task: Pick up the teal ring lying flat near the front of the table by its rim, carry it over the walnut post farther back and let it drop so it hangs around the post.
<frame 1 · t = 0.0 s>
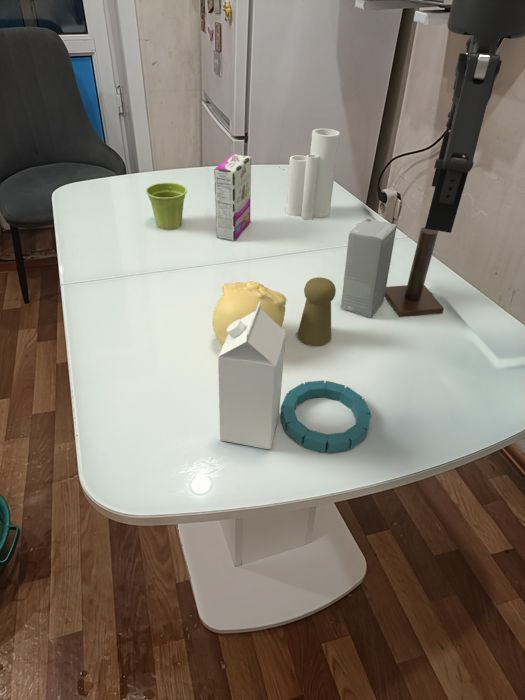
hand: (440, 206, 60), 30 cm above the table, tool pointing down, fingers open, 13 cm apart
cosmetic box: (361, 304, 100), on the table
ring: (324, 418, 74), on the table
candy bar box: (233, 231, 123), on the table
brown pawn: (314, 336, 91), on the table
vase: (308, 214, 133), on the table
post: (411, 302, 100), on the table
sculpture: (247, 342, 88), on the table
plant pot: (169, 225, 124), on the table
milk carton: (250, 428, 73), on the table
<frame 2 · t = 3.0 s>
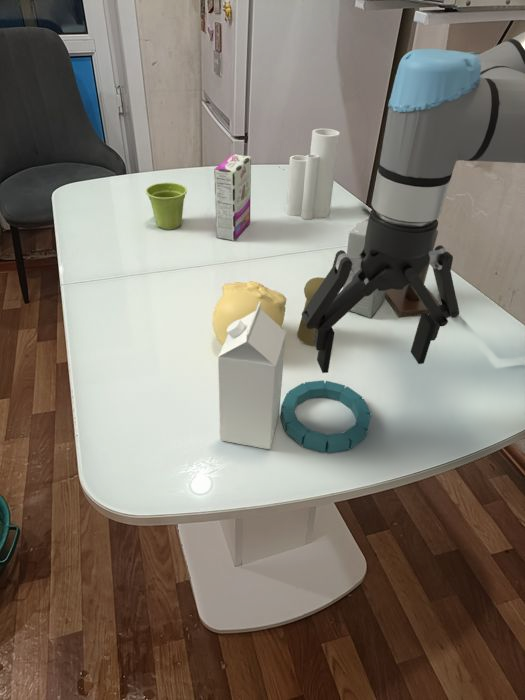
hand: (370, 362, 69), 10 cm above the table, tool pointing down, fingers open, 13 cm apart
nothing on the table moved.
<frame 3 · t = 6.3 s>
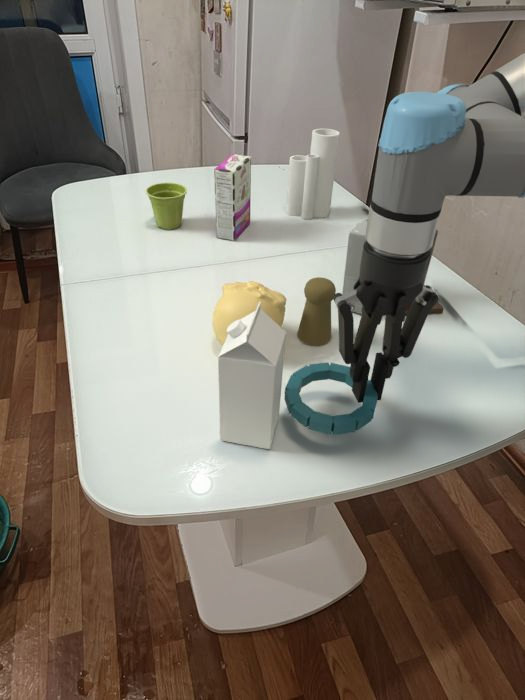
hand: (366, 394, 73), 4 cm above the table, tool pointing down, fingers closed on ring, 2 cm apart
ring: (330, 401, 72), point 4 cm above the table, touching gripper
everything else where it was.
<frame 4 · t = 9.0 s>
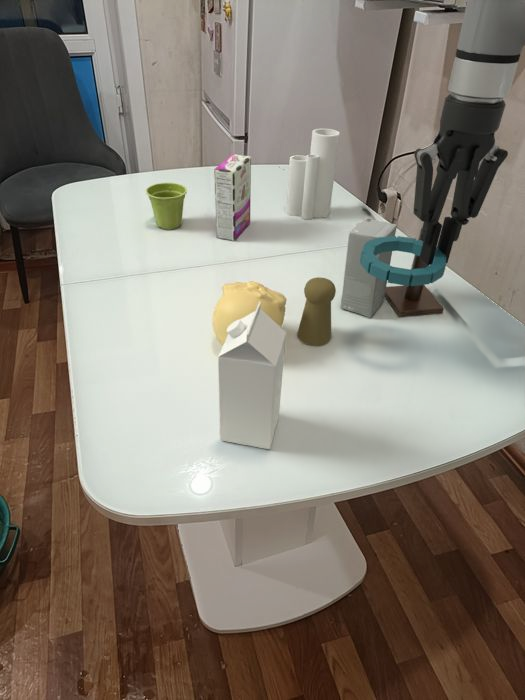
hand: (433, 259, 80), 16 cm above the table, tool pointing down, fingers closed on ring, 2 cm apart
ring: (401, 264, 79), point 16 cm above the table, touching gripper
everything else where it was.
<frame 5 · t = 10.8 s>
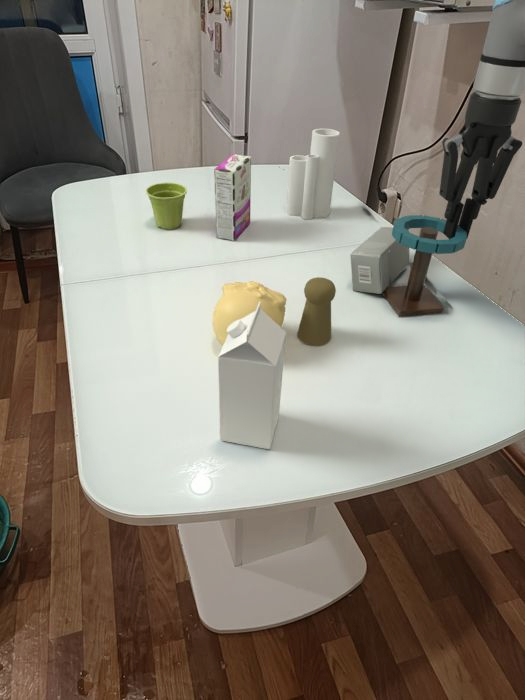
hand: (455, 235, 93), 14 cm above the table, tool pointing down, fingers closed on ring, 2 cm apart
cosmetic box: (363, 275, 99), point 4 cm above the table, touching post
ring: (427, 238, 92), point 14 cm above the table, touching gripper
everything else where it was.
when the fingers open (10 cm above the table, at t = 12.1 s): ring drops 8 cm, resting on cosmetic box, post.
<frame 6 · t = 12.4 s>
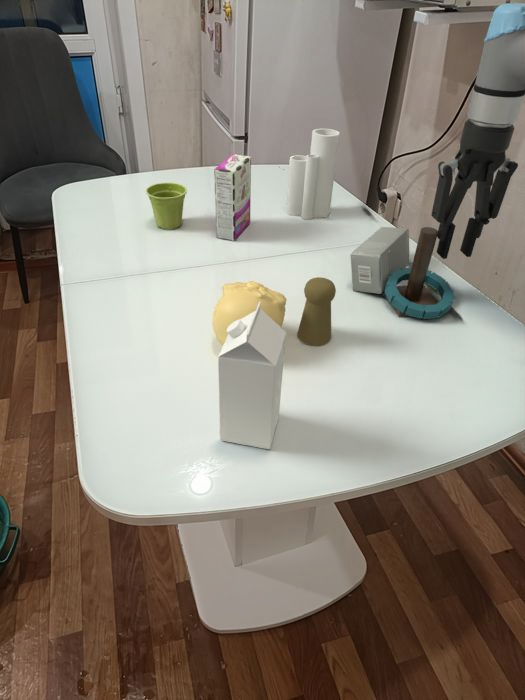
hand: (453, 254, 95), 10 cm above the table, tool pointing down, fingers open, 4 cm apart
cosmetic box: (363, 275, 99), point 4 cm above the table, touching post, ring
ring: (417, 295, 99), point 2 cm above the table, tilted 11°, touching cosmetic box, post
everything else where it was.
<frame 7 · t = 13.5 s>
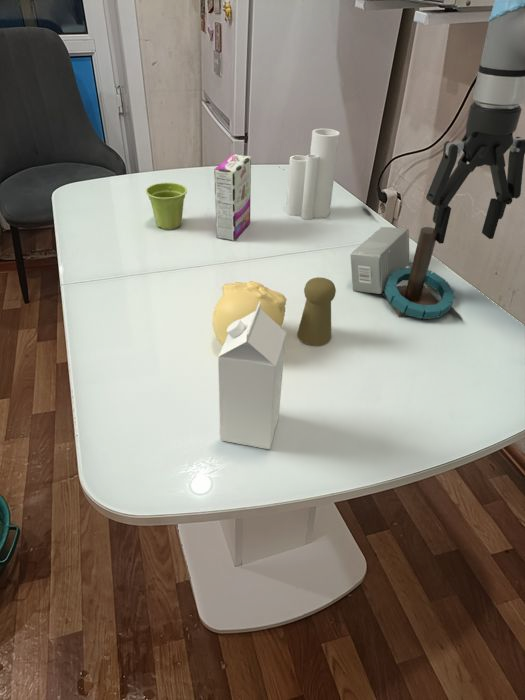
hand: (462, 237, 93), 14 cm above the table, tool pointing down, fingers open, 9 cm apart
nothing on the table moved.
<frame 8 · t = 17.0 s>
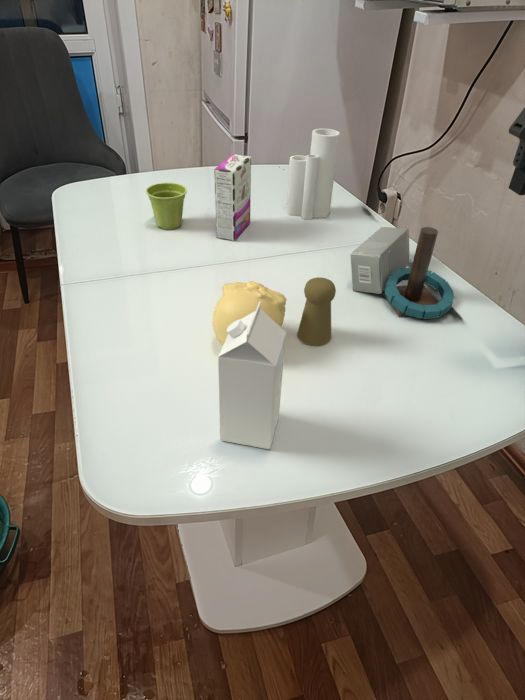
nothing on the table moved.
at the end: ring 0.9 cm from the post (horizontally); ring point 1.9 cm above the table; the gripper is holding nothing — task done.
